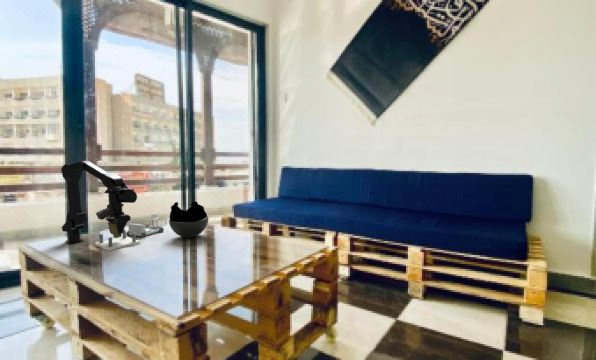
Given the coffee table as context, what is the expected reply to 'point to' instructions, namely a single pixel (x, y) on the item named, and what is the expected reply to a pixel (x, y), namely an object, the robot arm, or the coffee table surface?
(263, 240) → the coffee table surface
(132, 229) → the toy car
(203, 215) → the coal bowl
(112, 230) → the dark brown ornate lampshade
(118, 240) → the peg stand
